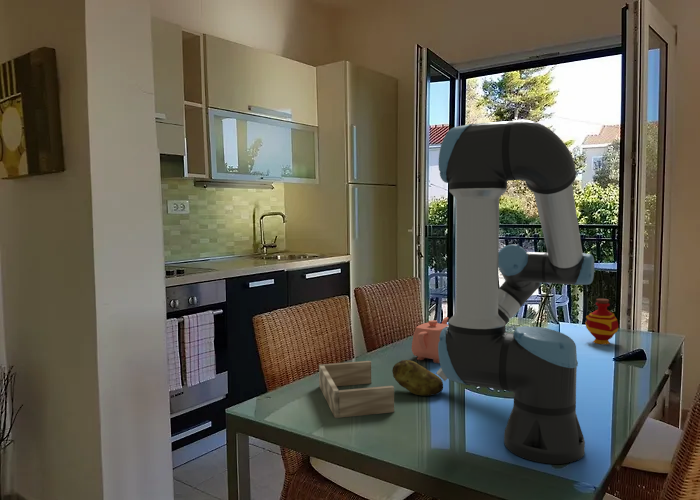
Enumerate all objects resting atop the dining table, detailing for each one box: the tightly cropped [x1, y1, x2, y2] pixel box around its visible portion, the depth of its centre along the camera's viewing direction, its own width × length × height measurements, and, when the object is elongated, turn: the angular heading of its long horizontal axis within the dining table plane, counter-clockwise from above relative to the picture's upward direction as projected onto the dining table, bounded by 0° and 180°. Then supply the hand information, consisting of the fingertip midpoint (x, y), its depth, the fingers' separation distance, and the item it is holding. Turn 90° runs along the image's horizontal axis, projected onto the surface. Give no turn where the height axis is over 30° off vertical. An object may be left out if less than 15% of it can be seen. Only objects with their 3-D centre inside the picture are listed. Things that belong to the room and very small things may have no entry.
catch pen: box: [318, 360, 395, 419], centre depth 137 cm, size 22×14×6 cm, turn 12°
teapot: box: [411, 316, 449, 364], centre depth 171 cm, size 20×12×12 cm, turn 145°
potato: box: [391, 359, 444, 396], centre depth 140 cm, size 8×13×8 cm, turn 46°
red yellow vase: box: [584, 298, 619, 345], centre depth 186 cm, size 10×10×15 cm
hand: (440, 377), depth 142 cm, fingers closed
